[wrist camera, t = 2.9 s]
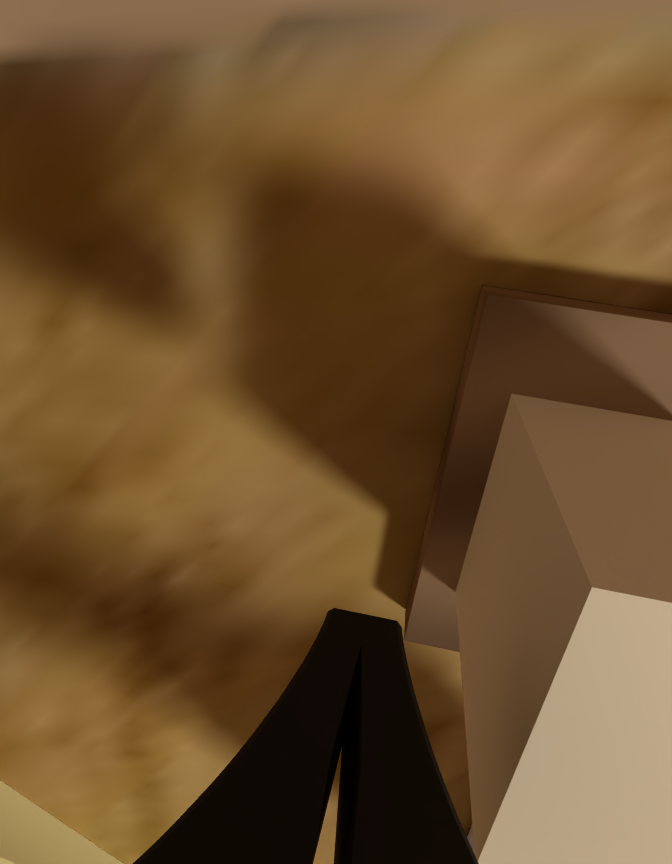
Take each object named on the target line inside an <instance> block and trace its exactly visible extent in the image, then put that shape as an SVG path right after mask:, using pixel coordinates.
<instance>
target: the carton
mask: <svg viewBox="0 0 672 864" xmlns="http://www.w3.org/2000/svg"><path fill="white" fill-rule="evenodd" d="M456 605H457V619H458V633H459V647H460V661H461V675H462V688H463V702H464V716H465V730H466V744H467V758H468V772H469V786H470V800H471V814H472V828H473V842H474V854H475V856H476V859H477V861H478V863H479V864H672V421H670V420H664V419H658V418H652V417H646V416H641V415H635V414H629V413H623V412H617V411H611V410H605V409H599V408H593V407H587V406H582V405H576V404H570V403H564V402H558V401H552V400H546V399H540V398H534V397H528V396H522V395H517V394H511V397H510V401H509V404H508V408H507V411H506V415H505V418H504V422H503V425H502V429H501V433H500V436H499V440H498V443H497V447H496V450H495V454H494V457H493V461H492V465H491V468H490V472H489V475H488V479H487V482H486V486H485V489H484V493H483V496H482V500H481V504H480V507H479V511H478V514H477V518H476V521H475V525H474V528H473V532H472V535H471V539H470V543H469V546H468V550H467V553H466V557H465V560H464V564H463V567H462V571H461V574H460V578H459V582H458V585H457V589H456Z"/></svg>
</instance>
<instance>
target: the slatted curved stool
mask: <svg viewBox="0 0 672 864" xmlns="http://www.w3.org/2000/svg"><path fill="white" fill-rule="evenodd" d="M0 864H123V863H122V862H120V861H119V860H117V859H116V858H114V857H113V856H111V855H110V854H108V853H107V852H105V851H104V850H102V849H101V848H99V847H98V846H97V845H95V844H94V843H92V842H91V841H89V840H88V839H86V838H85V837H83V836H82V835H80V834H79V833H77V832H76V831H74V830H73V829H71V828H70V827H68V826H67V825H65V824H64V823H62V822H61V821H60V820H58V819H57V818H55V817H54V816H52V815H51V814H49V813H48V812H46V811H45V810H43V809H42V808H40V807H39V806H37V805H36V804H34V803H33V802H31V801H30V800H28V799H27V798H26V797H24V796H23V795H21V794H20V793H18V792H17V791H15V790H14V789H12V788H11V787H9V786H8V785H6V784H5V783H3V782H2V781H0Z"/></svg>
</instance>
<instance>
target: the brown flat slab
mask: <svg viewBox="0 0 672 864" xmlns="http://www.w3.org/2000/svg"><path fill="white" fill-rule="evenodd" d="M511 394H517V395H522V396H528V397H534V398H540V399H546V400H552V401H558V402H564V403H570V404H576V405H582V406H587V407H593V408H599V409H605V410H611V411H617V412H623V413H629V414H635V415H641V416H646V417H652V418H658V419H664V420H670V421H672V314H667V313H660V312H654V311H647V310H641V309H634V308H628V307H621V306H615V305H608V304H602V303H595V302H588V301H582V300H575V299H569V298H562V297H556V296H549V295H543V294H536V293H530V292H523V291H517V290H510V289H504V288H497V287H491V286H484V285H482V289H481V293H480V297H479V301H478V306H477V310H476V314H475V318H474V323H473V327H472V331H471V335H470V340H469V344H468V348H467V352H466V357H465V361H464V365H463V369H462V373H461V378H460V382H459V386H458V390H457V395H456V399H455V403H454V407H453V412H452V416H451V420H450V424H449V429H448V433H447V437H446V441H445V446H444V450H443V454H442V458H441V462H440V467H439V471H438V475H437V479H436V484H435V488H434V492H433V496H432V501H431V505H430V509H429V513H428V518H427V522H426V526H425V530H424V534H423V539H422V543H421V547H420V551H419V556H418V560H417V564H416V568H415V573H414V577H413V581H412V585H411V590H410V594H409V598H408V602H407V606H406V613H405V633H404V640H405V641H410V642H415V643H420V644H424V645H429V646H434V647H439V648H443V649H448V650H453V651H458V652H460V647H459V633H458V619H457V605H456V589H457V585H458V582H459V578H460V574H461V571H462V567H463V564H464V560H465V557H466V553H467V550H468V546H469V543H470V539H471V535H472V532H473V528H474V525H475V521H476V518H477V514H478V511H479V507H480V504H481V500H482V496H483V493H484V489H485V486H486V482H487V479H488V475H489V472H490V468H491V465H492V461H493V457H494V454H495V450H496V447H497V443H498V440H499V436H500V433H501V429H502V425H503V422H504V418H505V415H506V411H507V408H508V404H509V401H510V397H511Z"/></svg>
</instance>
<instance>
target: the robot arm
mask: <svg viewBox="0 0 672 864" xmlns="http://www.w3.org/2000/svg"><path fill="white" fill-rule="evenodd" d="M341 747H342V755H341V769H340V783H339V797H338V812H337V826H336V840H335V855H334V864H479V863H478V861H477V859H476V856H475V854H474V842H473V828H472V826H471V828H470V831H469V833H468V836H466V834H465V832H464V829H463V827H462V825H461V823H460V820H459V818H458V816H457V813H456V811H455V808H454V806H453V803H452V801H451V798H450V796H449V793H448V791H447V788H446V786H445V783H444V781H443V778H442V775H441V772H440V770H439V767H438V764H437V762H436V759H435V756H434V753H433V750H432V747H431V744H430V742H429V739H428V736H427V733H426V729H425V726H424V723H423V719H422V716H421V713H420V710H419V706H418V703H417V700H416V696H415V693H414V689H413V685H412V681H411V677H410V673H409V669H408V664H407V660H406V655H405V649H404V643H403V637H402V627H401V626H400V624H399V623H398V622H397V621H395V620H390V619H385V618H380V617H375V616H371V615H366V614H361V613H356V612H351V611H346V610H341V609H337V608H333V609H332V610H330V611H328V612H327V615H326V618H325V621H324V623H323V625H322V628H321V630H320V632H319V634H318V636H317V638H316V640H315V642H314V644H313V645H312V647H311V649H310V651H309V652H308V654H307V656H306V658H305V659H304V661H303V663H302V664H301V666H300V667H299V669H298V671H297V672H296V674H295V675H294V677H293V678H292V680H291V681H290V683H289V684H288V686H287V688H286V689H285V691H284V692H283V694H282V695H281V697H280V698H279V699H278V701H277V702H276V704H275V705H274V706H273V708H272V709H271V710H270V712H269V713H268V714H267V716H266V717H265V718H264V720H263V721H262V722H261V724H260V725H259V726H258V728H257V729H256V731H255V732H254V733H253V734H252V736H251V737H250V738H249V740H248V741H247V742H246V743H245V745H244V746H243V747H242V748H241V750H240V751H239V752H238V753H237V754H236V756H235V757H234V758H233V759H232V760H231V762H230V763H229V764H228V765H227V766H226V767H225V769H224V770H223V771H222V772H221V773H220V774H219V776H218V777H217V778H216V779H215V780H214V781H213V782H212V784H211V785H210V786H209V787H208V788H207V789H206V790H205V791H204V792H203V793H202V794H201V795H200V797H199V798H198V799H197V800H196V801H195V802H194V803H193V804H192V805H191V806H190V807H189V808H188V809H187V811H186V812H185V813H184V814H183V815H182V816H181V817H180V818H179V819H178V820H177V821H176V822H175V823H174V824H173V825H172V826H171V827H170V828H169V829H168V830H167V831H166V832H165V833H164V834H163V835H162V836H161V837H160V838H159V839H158V840H157V841H156V842H155V843H154V844H153V845H152V846H151V847H150V848H149V849H148V850H147V851H146V852H145V853H144V854H143V855H142V856H140V857H139V858H138V859H137V860H136V861H135V862H134V863H133V864H313V861H314V857H315V853H316V849H317V845H318V841H319V837H320V833H321V828H322V824H323V820H324V816H325V812H326V808H327V804H328V800H329V796H330V792H331V788H332V784H333V780H334V776H335V772H336V768H337V764H338V760H339V756H340V752H341Z"/></svg>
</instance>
